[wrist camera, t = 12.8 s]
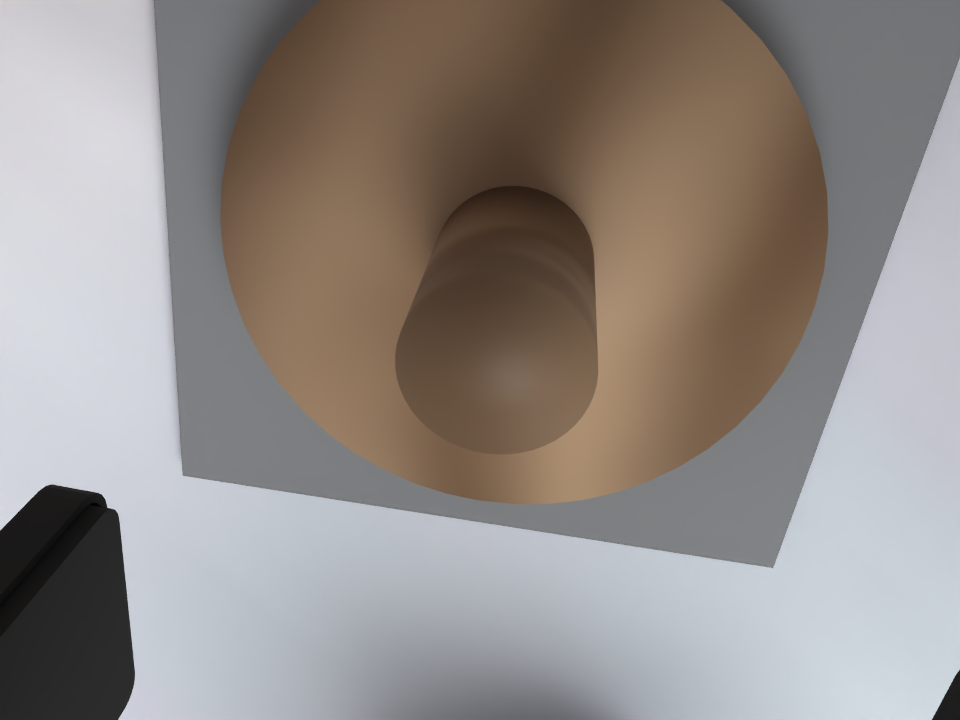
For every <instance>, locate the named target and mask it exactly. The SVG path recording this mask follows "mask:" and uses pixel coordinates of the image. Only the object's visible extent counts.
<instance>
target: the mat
mask: <svg viewBox="0 0 960 720" xmlns="http://www.w3.org/2000/svg"><path fill="white" fill-rule="evenodd" d="M320 1H321V0H154V8H155V25H156V41H157V58H158V74H159V91H160V108H161V124H162V141H163V157H164V174H165V190H166V207H167V223H168V240H169V256H170V273H171V289H172V306H173V322H174V339H175V355H176V372H177V388H178V405H179V421H180V438H181V454H182V471H183V476H189V477H195V478H202V479H208V480H215V481H221V482H227V483H234V484H240V485H247V486H253V487H259V488H266V489H272V490H279V491H285V492H291V493H298V494H304V495H310V496H317V497H323V498H330V499H336V500H342V501H349V502H355V503H362V504H368V505H374V506H381V507H387V508H394V509H400V510H406V511H413V512H419V513H426V514H432V515H438V516H445V517H451V518H457V519H464V520H470V521H477V522H483V523H489V524H496V525H502V526H509V527H515V528H521V529H528V530H534V531H541V532H547V533H553V534H560V535H566V536H572V537H579V538H585V539H592V540H598V541H604V542H611V543H617V544H624V545H630V546H636V547H643V548H649V549H656V550H662V551H668V552H675V553H681V554H687V555H694V556H700V557H707V558H713V559H719V560H726V561H732V562H739V563H745V564H751V565H758V566H764V567H771V568H773V566H774V564H775V561H776V558H777V555H778V553H779V550H780V547H781V545H782V542H783V539H784V536H785V534H786V531H787V528H788V525H789V523H790V520H791V517H792V514H793V512H794V509H795V506H796V504H797V501H798V498H799V495H800V493H801V490H802V487H803V484H804V482H805V479H806V476H807V473H808V471H809V468H810V465H811V463H812V460H813V457H814V454H815V452H816V449H817V446H818V443H819V441H820V438H821V435H822V432H823V430H824V427H825V424H826V422H827V419H828V416H829V413H830V411H831V408H832V405H833V402H834V400H835V397H836V394H837V391H838V389H839V386H840V383H841V381H842V378H843V375H844V372H845V370H846V367H847V364H848V361H849V359H850V356H851V353H852V350H853V348H854V345H855V342H856V339H857V337H858V334H859V331H860V329H861V326H862V323H863V320H864V318H865V315H866V312H867V309H868V307H869V304H870V301H871V298H872V296H873V293H874V290H875V288H876V285H877V282H878V279H879V277H880V274H881V271H882V268H883V266H884V263H885V260H886V257H887V255H888V252H889V249H890V247H891V244H892V241H893V238H894V236H895V233H896V230H897V227H898V225H899V222H900V219H901V216H902V214H903V211H904V208H905V206H906V203H907V200H908V197H909V195H910V192H911V189H912V186H913V184H914V181H915V178H916V175H917V173H918V170H919V167H920V165H921V162H922V159H923V156H924V154H925V151H926V148H927V145H928V143H929V140H930V137H931V134H932V132H933V129H934V126H935V123H936V121H937V118H938V115H939V113H940V110H941V107H942V104H943V102H944V99H945V96H946V93H947V91H948V88H949V85H950V82H951V80H952V77H953V74H954V72H955V69H956V66H957V63H958V61H959V58H960V0H721V1H723V2H724V3H725V4H726V5H727V6H729V7H730V8H731V9H732V10H733V11H734V12H735V13H736V14H737V15H738V16H739V17H740V18H741V19H742V20H743V21H744V22H745V23H746V24H747V25H748V27H749V28H750V29H751V30H752V31H753V32H754V33H755V34H756V35H757V36H758V37H759V38H760V39H761V40H762V41H763V43H764V44H765V45H766V47H767V48H768V50H769V51H770V52H771V54H772V55H773V57H774V58H775V59H776V61H777V62H778V63H779V65H780V66H781V68H782V69H783V70H784V72H785V73H786V74H787V76H788V78H789V80H790V82H791V84H792V86H793V88H794V90H795V92H796V94H797V96H798V98H799V99H800V101H801V103H802V105H803V107H804V109H805V111H806V113H807V116H808V119H809V122H810V125H811V128H812V131H813V134H814V137H815V139H816V142H817V145H818V148H819V151H820V156H821V161H822V167H823V172H824V178H825V183H826V189H827V202H828V241H827V250H826V259H825V268H824V273H823V277H822V281H821V285H820V289H819V293H818V297H817V301H816V304H815V308H814V310H813V313H812V315H811V318H810V320H809V323H808V325H807V327H806V330H805V332H804V335H803V337H802V340H801V342H800V344H799V345H798V347H797V349H796V351H795V352H794V354H793V356H792V357H791V359H790V361H789V363H788V364H787V366H786V368H785V370H784V371H783V373H782V374H781V376H780V377H779V378H778V380H777V381H776V382H775V384H774V385H773V386H772V388H771V389H770V390H769V391H768V393H767V394H766V395H765V397H764V398H763V399H762V401H761V402H760V403H759V404H758V405H757V406H756V407H755V408H754V409H753V410H752V411H751V412H750V413H749V414H748V415H747V416H746V417H745V418H744V419H743V420H742V421H741V422H740V423H739V424H738V425H737V426H736V427H735V428H734V429H733V430H731V431H730V432H729V433H728V434H726V435H725V436H724V437H723V438H721V439H720V440H719V441H717V442H716V443H715V444H714V445H712V446H711V447H710V448H709V449H707V450H706V451H704V452H702V453H701V454H699V455H698V456H696V457H694V458H693V459H691V460H689V461H688V462H686V463H685V464H683V465H681V466H680V467H678V468H676V469H674V470H672V471H669V472H667V473H665V474H663V475H661V476H659V477H657V478H654V479H652V480H650V481H648V482H646V483H643V484H640V485H637V486H634V487H631V488H628V489H625V490H622V491H619V492H616V493H612V494H608V495H603V496H599V497H594V498H589V499H585V500H580V501H571V502H561V503H552V504H507V503H497V502H487V501H479V500H474V499H469V498H464V497H460V496H455V495H450V494H446V493H443V492H440V491H437V490H433V489H430V488H427V487H424V486H421V485H418V484H415V483H413V482H410V481H408V480H406V479H403V478H401V477H399V476H397V475H394V474H392V473H390V472H388V471H385V470H383V469H382V468H380V467H378V466H376V465H375V464H373V463H371V462H369V461H368V460H366V459H364V458H363V457H361V456H359V455H357V454H356V453H354V452H353V451H351V450H350V449H349V448H347V447H346V446H344V445H343V444H342V443H340V442H339V441H338V440H336V439H335V438H334V437H332V436H331V435H329V434H328V433H327V432H326V431H325V430H324V429H322V428H321V427H320V426H319V425H318V424H317V423H316V422H315V421H314V420H313V419H312V418H310V417H309V416H308V415H307V414H306V413H305V412H304V411H303V410H302V409H301V408H300V407H299V406H298V405H297V403H296V402H295V401H294V400H293V399H292V398H291V396H290V395H289V394H288V393H287V392H286V391H285V390H284V388H283V387H282V386H281V385H280V384H279V382H278V381H277V379H276V378H275V376H274V375H273V373H272V372H271V371H270V369H269V368H268V366H267V365H266V363H265V362H264V360H263V359H262V357H261V356H260V354H259V352H258V350H257V348H256V346H255V344H254V343H253V341H252V339H251V337H250V335H249V333H248V331H247V329H246V327H245V325H244V323H243V320H242V317H241V315H240V312H239V309H238V307H237V304H236V301H235V299H234V296H233V293H232V290H231V286H230V281H229V277H228V273H227V268H226V264H225V260H224V254H223V244H222V233H221V223H220V213H221V187H222V178H223V173H224V167H225V161H226V156H227V150H228V145H229V142H230V139H231V136H232V133H233V130H234V127H235V124H236V121H237V118H238V115H239V112H240V109H241V107H242V105H243V103H244V101H245V99H246V97H247V95H248V93H249V91H250V89H251V87H252V85H253V83H254V81H255V79H256V77H257V74H258V73H259V71H260V70H261V68H262V67H263V65H264V64H265V63H266V61H267V60H268V58H269V57H270V55H271V54H272V53H273V51H274V50H275V48H276V47H277V45H278V44H279V42H280V41H281V40H282V38H283V37H284V36H285V35H286V34H287V33H288V32H289V31H290V30H291V29H292V28H293V27H294V26H295V25H296V24H297V22H298V21H299V20H300V19H301V18H302V17H303V16H304V15H305V14H306V13H307V12H308V11H309V10H310V9H311V8H312V7H313V6H315V5H316V4H317V3H318V2H320Z"/></svg>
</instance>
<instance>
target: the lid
mask: <svg viewBox="0 0 960 720" xmlns="http://www.w3.org/2000/svg"><path fill="white" fill-rule="evenodd" d="M220 223H221V233H222V244H223V254H224V260H225V264H226V268H227V273H228V277H229V281H230V286H231V290H232V293H233V296H234V299H235V301H236V304H237V307H238V309H239V312H240V315H241V317H242V320H243V323H244V325H245V327H246V329H247V331H248V333H249V335H250V337H251V339H252V341H253V343H254V344H255V346H256V348H257V350H258V352H259V354H260V356H261V357H262V359H263V360H264V362H265V363H266V365H267V366H268V368H269V369H270V371H271V372H272V373H273V375H274V376H275V378H276V379H277V381H278V382H279V384H280V385H281V386H282V387H283V388H284V390H285V391H286V392H287V393H288V394H289V395H290V396H291V398H292V399H293V400H294V401H295V402H296V403H297V405H298V406H299V407H300V408H301V409H302V410H303V411H304V412H305V413H306V414H307V415H308V416H309V417H310V418H312V419H313V420H314V421H315V422H316V423H317V424H318V425H319V426H320V427H321V428H322V429H324V430H325V431H326V432H327V433H328V434H329V435H331V436H332V437H334V438H335V439H336V440H338V441H339V442H340V443H342V444H343V445H344V446H346V447H347V448H349V449H350V450H351V451H353V452H354V453H356V454H357V455H359V456H361V457H363V458H364V459H366V460H368V461H369V462H371V463H373V464H375V465H376V466H378V467H380V468H382V469H383V470H385V471H388V472H390V473H392V474H394V475H397V476H399V477H401V478H403V479H406V480H408V481H410V482H413V483H415V484H418V485H421V486H424V487H427V488H430V489H433V490H437V491H440V492H443V493H446V494H450V495H455V496H460V497H464V498H469V499H474V500H479V501H487V502H497V503H507V504H552V503H561V502H571V501H580V500H585V499H589V498H594V497H599V496H603V495H608V494H612V493H616V492H619V491H622V490H625V489H628V488H631V487H634V486H637V485H640V484H643V483H646V482H648V481H650V480H652V479H654V478H657V477H659V476H661V475H663V474H665V473H667V472H669V471H672V470H674V469H676V468H678V467H680V466H681V465H683V464H685V463H686V462H688V461H689V460H691V459H693V458H694V457H696V456H698V455H699V454H701V453H702V452H704V451H706V450H707V449H709V448H710V447H711V446H712V445H714V444H715V443H716V442H717V441H719V440H720V439H721V438H723V437H724V436H725V435H726V434H728V433H729V432H730V431H731V430H733V429H734V428H735V427H736V426H737V425H738V424H739V423H740V422H741V421H742V420H743V419H744V418H745V417H746V416H747V415H748V414H749V413H750V412H751V411H752V410H753V409H754V408H755V407H756V406H757V405H758V404H759V403H760V402H761V401H762V399H763V398H764V397H765V395H766V394H767V393H768V391H769V390H770V389H771V388H772V386H773V385H774V384H775V382H776V381H777V380H778V378H779V377H780V376H781V374H782V373H783V371H784V370H785V368H786V366H787V364H788V363H789V361H790V359H791V357H792V356H793V354H794V352H795V351H796V349H797V347H798V345H799V344H800V342H801V340H802V337H803V335H804V332H805V330H806V327H807V325H808V323H809V320H810V318H811V315H812V313H813V310H814V308H815V304H816V301H817V297H818V293H819V289H820V285H821V281H822V277H823V273H824V268H825V259H826V250H827V241H828V202H827V189H826V183H825V178H824V172H823V167H822V161H821V156H820V151H819V148H818V145H817V142H816V139H815V137H814V134H813V131H812V128H811V125H810V122H809V119H808V116H807V113H806V111H805V109H804V107H803V105H802V103H801V101H800V99H799V98H798V96H797V94H796V92H795V90H794V88H793V86H792V84H791V82H790V80H789V78H788V76H787V74H786V73H785V72H784V70H783V69H782V68H781V66H780V65H779V63H778V62H777V61H776V59H775V58H774V57H773V55H772V54H771V52H770V51H769V50H768V48H767V47H766V45H765V44H764V43H763V41H762V40H761V39H760V38H759V37H758V36H757V35H756V34H755V33H754V32H753V31H752V30H751V29H750V28H749V27H748V25H747V24H746V23H745V22H744V21H743V20H742V19H741V18H740V17H739V16H738V15H737V14H736V13H735V12H734V11H733V10H732V9H731V8H730V7H729V6H727V5H726V4H725V3H724V2H723V1H721V0H321V1H320V2H318V3H317V4H316V5H315V6H313V7H312V8H311V9H310V10H309V11H308V12H307V13H306V14H305V15H304V16H303V17H302V18H301V19H300V20H299V21H298V22H297V24H296V25H295V26H294V27H293V28H292V29H291V30H290V31H289V32H288V33H287V34H286V35H285V36H284V37H283V38H282V40H281V41H280V42H279V44H278V45H277V47H276V48H275V50H274V51H273V53H272V54H271V55H270V57H269V58H268V60H267V61H266V63H265V64H264V65H263V67H262V68H261V70H260V71H259V73H258V74H257V77H256V79H255V81H254V83H253V85H252V87H251V89H250V91H249V93H248V95H247V97H246V99H245V101H244V103H243V105H242V107H241V109H240V112H239V115H238V118H237V121H236V124H235V127H234V130H233V133H232V136H231V139H230V142H229V145H228V150H227V156H226V161H225V167H224V173H223V178H222V187H221V213H220Z"/></svg>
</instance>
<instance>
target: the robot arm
mask: <svg viewBox="0 0 960 720" xmlns="http://www.w3.org/2000/svg"><path fill="white" fill-rule="evenodd" d="M134 679H135V670H134V660H133V650H132V640H131V631H130V621H129V611H128V601H127V591H126V582H125V572H124V562H123V552H122V542H121V533H120V523H119V517H118V513H117V512H116V510H114V509H110V508H107V505H106V500H105V498H104V497H103V496H102V494H99V493H95V492H89V491H84V490H79V489H73V488H68V487H62V486H57V485H49V486H45V487H44V488H43V489H41V490H40V491H39V492H38V493H37V494H36V495H35V496H34V497H33V498H32V499H31V500H30V501H29V502H28V503H27V504H26V505H25V506H24V507H23V508H22V509H21V510H20V511H19V512H18V513H17V514H16V515H15V516H14V517H13V518H12V519H11V520H10V521H9V522H8V523H7V524H6V525H5V526H4V527H3V529H2V530H1V531H0V720H118V719H119V717H120V715H121V714H122V712H123V711H124V709H125V707H126V705H127V703H128V701H129V698H130V696H131V693H132V689H133V686H134ZM932 720H960V670H959V672H958V673H957V674H956V676H955V678H954V680H953V681H952V683H951V685H950V687H949V689H948V691H947V693H946V695H945V696H944V698H943V700H942V702H941V704H940V706H939V708H938V710H937V711H936V713H935V715H934V717H933V719H932Z"/></svg>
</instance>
